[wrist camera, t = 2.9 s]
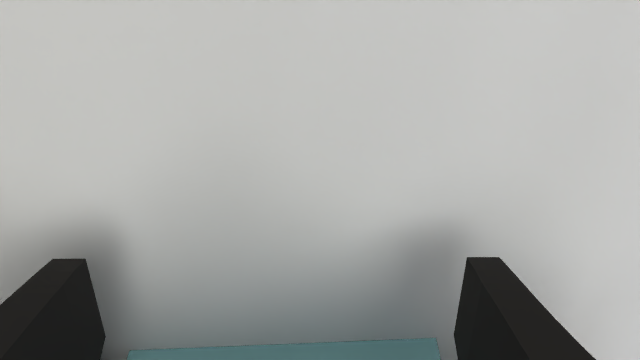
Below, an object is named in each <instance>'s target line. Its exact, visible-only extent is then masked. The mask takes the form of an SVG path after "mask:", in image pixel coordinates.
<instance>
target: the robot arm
mask: <svg viewBox="0 0 640 360" xmlns="http://www.w3.org/2000/svg"><path fill="white" fill-rule="evenodd" d="M454 338H455V344H456V350H457V356H458V360H596V359H595V358H594V357H592V356H591V355H590V354H589V353H588V352H587V351H586V350H585V349H584V348H583V347H582V346H581V345H580V344H579V343H578V342H577V341H576V340H575V339H574V338H573V337H572V336H571V335H570V333H569V332H568V331H567V330H566V329H565V328H564V327H563V326H562V325H561V324H560V323H559V322H558V321H557V320H556V319H555V318H554V317H553V316H552V315H551V314H550V313H549V312H548V311H547V309H546V308H545V307H544V306H543V305H542V304H541V303H540V302H539V301H538V300H537V299H536V297H535V296H534V295H533V294H532V293H531V292H530V291H529V290H528V289H527V287H526V286H525V285H524V284H523V283H522V282H521V281H520V280H519V278H518V277H517V276H516V275H515V274H514V273H513V272H512V271H511V270H510V268H509V267H508V266H507V265H506V264H505V263H504V262H503V261H502V260H501V259H500V258H499V257H467V261H466V267H465V273H464V278H463V284H462V290H461V296H460V302H459V308H458V314H457V320H456V325H455V331H454ZM104 341H105V333H104V329H103V325H102V321H101V317H100V313H99V309H98V305H97V302H96V298H95V294H94V290H93V286H92V282H91V278H90V275H89V271H88V267H87V263H86V259H52V260H51V261H50V262H49V263H48V264H46V265H45V266H44V267H43V268H42V269H40V270H39V271H38V272H37V273H36V274H35V275H34V276H32V277H31V278H30V279H29V280H28V281H27V282H26V283H25V284H23V285H22V286H21V287H20V288H19V289H18V290H17V291H16V292H14V293H13V294H12V295H11V296H10V297H9V298H8V299H7V300H5V301H4V302H3V303H2V304H1V305H0V360H100V357H101V353H102V349H103V345H104Z"/></svg>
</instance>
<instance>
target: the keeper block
mask: <svg viewBox="0 0 640 360" xmlns="http://www.w3.org/2000/svg"><path fill="white" fill-rule="evenodd" d="M127 360H441V358H440V354H439V349H438V345H437V341H436V338H421V339H397V340H372V341H348V342H324V343H299V344H275V345H251V346H227V347H202V348H178V349H154V350H130V351H129V354H128V357H127Z"/></svg>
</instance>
